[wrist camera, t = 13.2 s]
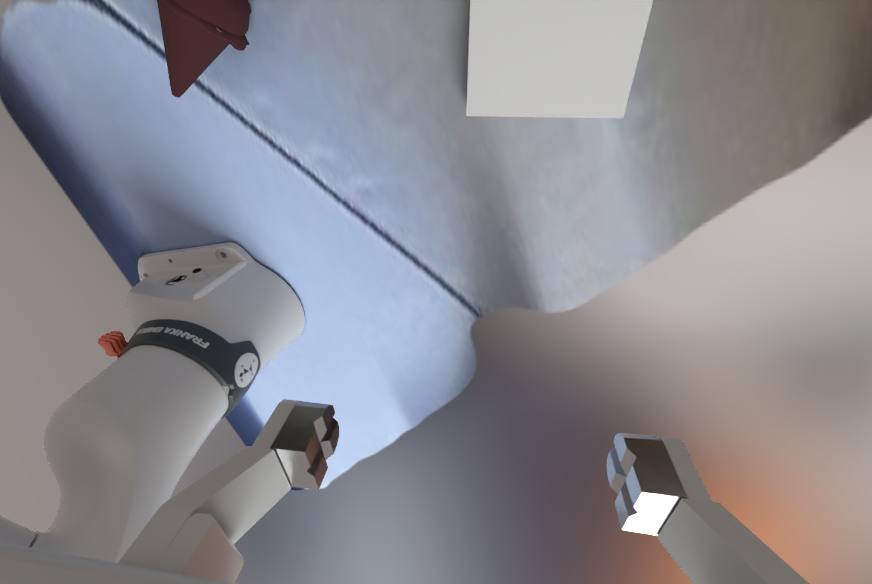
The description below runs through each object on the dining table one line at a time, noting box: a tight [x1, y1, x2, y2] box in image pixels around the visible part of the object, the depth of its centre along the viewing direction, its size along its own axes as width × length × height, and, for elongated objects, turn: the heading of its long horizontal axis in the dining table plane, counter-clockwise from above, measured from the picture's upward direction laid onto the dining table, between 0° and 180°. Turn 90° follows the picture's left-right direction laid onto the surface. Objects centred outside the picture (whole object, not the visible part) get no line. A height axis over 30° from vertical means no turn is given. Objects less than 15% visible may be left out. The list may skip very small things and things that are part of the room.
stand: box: [466, 0, 653, 118], centre depth 26 cm, size 12×12×3 cm
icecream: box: [157, 0, 251, 97], centre depth 28 cm, size 7×7×15 cm
